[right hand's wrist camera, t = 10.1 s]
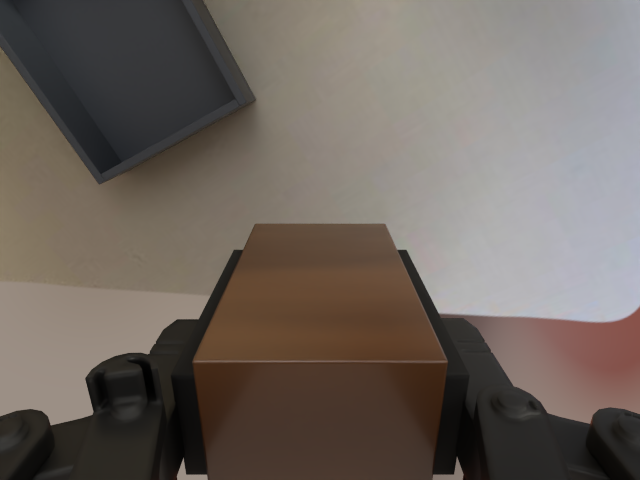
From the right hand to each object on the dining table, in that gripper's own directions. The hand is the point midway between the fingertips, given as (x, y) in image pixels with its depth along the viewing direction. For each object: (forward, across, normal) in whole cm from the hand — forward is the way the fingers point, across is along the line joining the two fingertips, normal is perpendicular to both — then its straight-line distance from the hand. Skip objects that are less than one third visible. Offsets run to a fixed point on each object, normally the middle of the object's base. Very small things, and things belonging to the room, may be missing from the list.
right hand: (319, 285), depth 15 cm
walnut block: (0, 0, 0) cm, 0 cm away
